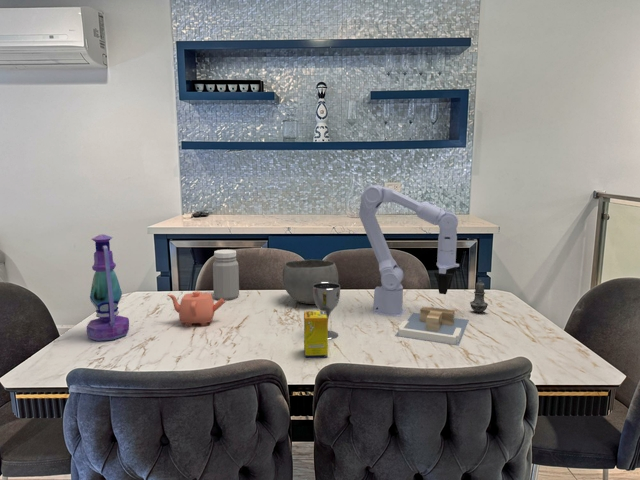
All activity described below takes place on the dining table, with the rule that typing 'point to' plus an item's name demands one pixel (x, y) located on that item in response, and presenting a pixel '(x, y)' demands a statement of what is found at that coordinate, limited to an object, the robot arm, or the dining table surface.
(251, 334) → the dining table surface
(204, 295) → the teapot
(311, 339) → the supplement box
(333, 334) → the silver goblet
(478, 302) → the salt shaker
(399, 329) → the dock
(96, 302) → the lantern
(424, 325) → the board
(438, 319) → the t block
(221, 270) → the jar
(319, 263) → the bowl
